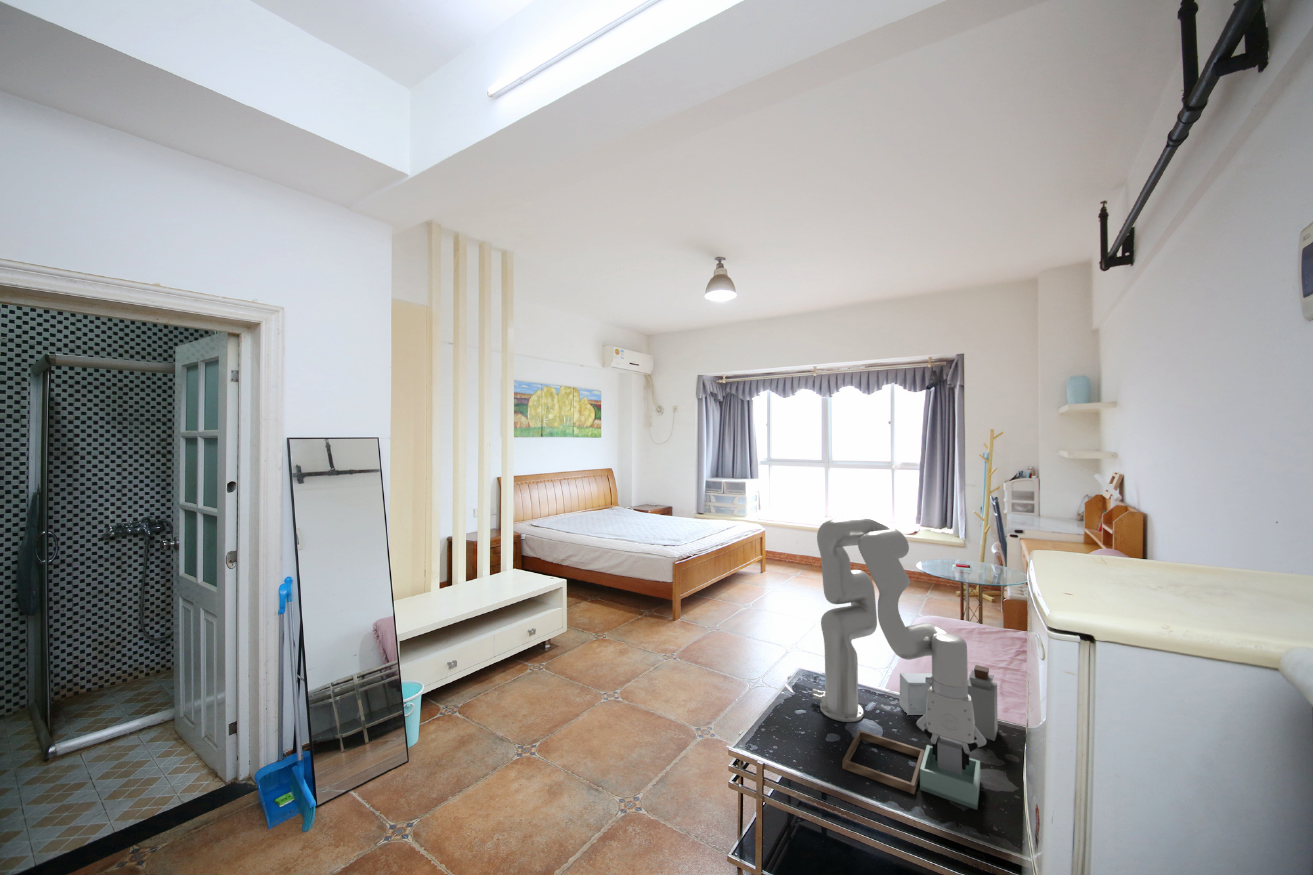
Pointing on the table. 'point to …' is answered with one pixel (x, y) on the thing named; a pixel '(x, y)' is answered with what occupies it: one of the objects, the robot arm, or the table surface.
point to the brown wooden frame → (879, 775)
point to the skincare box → (914, 692)
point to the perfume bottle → (984, 701)
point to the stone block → (950, 755)
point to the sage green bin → (950, 781)
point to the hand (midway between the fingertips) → (950, 761)
